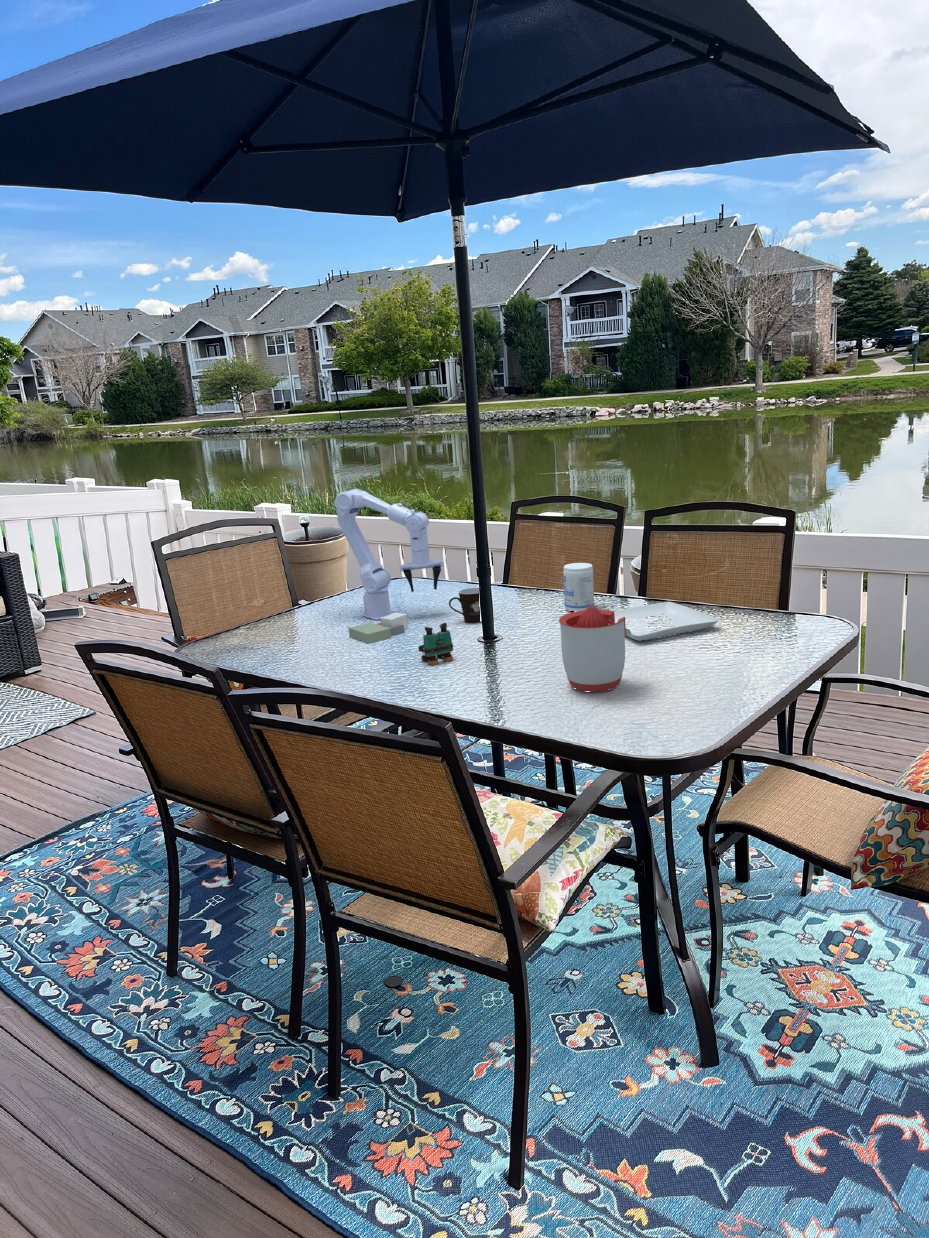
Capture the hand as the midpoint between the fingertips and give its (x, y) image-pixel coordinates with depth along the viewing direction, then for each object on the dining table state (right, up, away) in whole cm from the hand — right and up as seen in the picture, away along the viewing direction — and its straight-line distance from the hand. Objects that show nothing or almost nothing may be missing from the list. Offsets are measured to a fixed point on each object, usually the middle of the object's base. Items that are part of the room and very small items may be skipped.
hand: (424, 590), depth 277 cm
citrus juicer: (+46, -26, -74) cm, 91 cm away
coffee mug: (+15, -10, -7) cm, 20 cm away
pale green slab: (-14, -15, -14) cm, 24 cm away
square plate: (+69, -13, -31) cm, 77 cm away
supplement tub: (+51, -7, -4) cm, 52 cm away
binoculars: (+5, -21, -44) cm, 49 cm away
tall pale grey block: (-9, -13, -10) cm, 19 cm away
